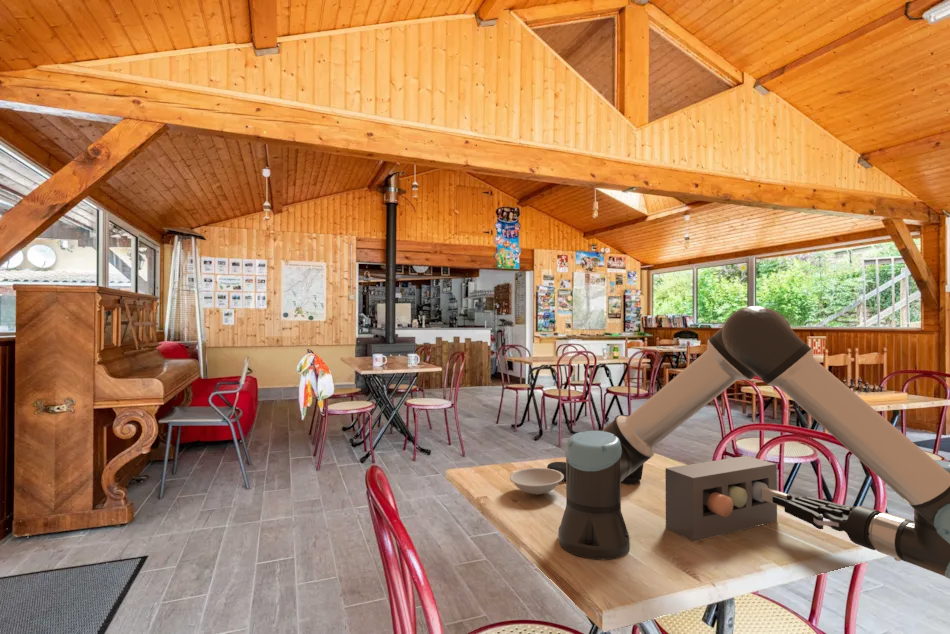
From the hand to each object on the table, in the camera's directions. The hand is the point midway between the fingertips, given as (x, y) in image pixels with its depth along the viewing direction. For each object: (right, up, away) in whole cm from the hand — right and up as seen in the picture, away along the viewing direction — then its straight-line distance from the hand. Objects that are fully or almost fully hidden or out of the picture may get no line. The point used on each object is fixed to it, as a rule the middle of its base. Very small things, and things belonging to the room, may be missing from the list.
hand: (763, 493), depth 115 cm
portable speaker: (-22, -9, +34) cm, 41 cm away
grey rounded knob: (-1, -2, +3) cm, 4 cm away
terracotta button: (-15, -2, -6) cm, 16 cm away
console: (-9, -8, +1) cm, 12 cm away
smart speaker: (-42, -9, +37) cm, 56 cm away
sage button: (-9, -2, -1) cm, 9 cm away
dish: (-51, -8, +22) cm, 56 cm away
